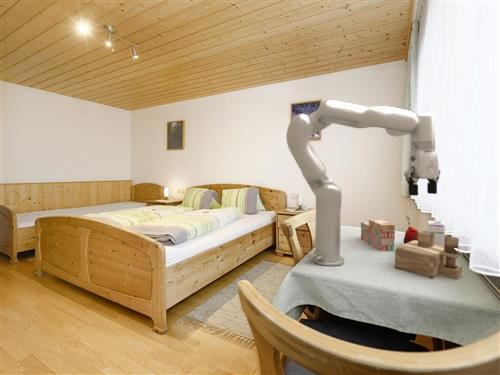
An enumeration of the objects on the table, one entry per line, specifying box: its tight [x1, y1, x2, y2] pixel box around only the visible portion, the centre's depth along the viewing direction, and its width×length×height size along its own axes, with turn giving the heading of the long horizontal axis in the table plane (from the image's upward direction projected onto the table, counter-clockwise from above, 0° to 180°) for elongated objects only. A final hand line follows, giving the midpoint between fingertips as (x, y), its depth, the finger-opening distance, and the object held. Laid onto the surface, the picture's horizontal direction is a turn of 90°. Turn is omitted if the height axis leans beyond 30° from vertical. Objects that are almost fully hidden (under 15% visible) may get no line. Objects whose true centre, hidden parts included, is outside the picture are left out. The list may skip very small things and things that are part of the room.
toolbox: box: [394, 248, 463, 280], centre depth 93 cm, size 16×17×7 cm
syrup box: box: [427, 220, 446, 245], centre depth 107 cm, size 6×6×14 cm
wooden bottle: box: [444, 235, 460, 269], centre depth 88 cm, size 4×4×13 cm
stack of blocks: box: [360, 219, 396, 252], centre depth 126 cm, size 21×6×12 cm, turn 0°
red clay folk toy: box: [403, 214, 419, 244], centre depth 122 cm, size 8×7×15 cm
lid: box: [395, 230, 463, 259], centre depth 92 cm, size 16×17×7 cm
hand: (422, 194), depth 95 cm, fingers open, 9 cm apart
